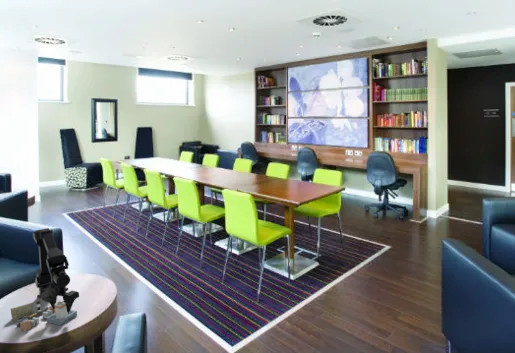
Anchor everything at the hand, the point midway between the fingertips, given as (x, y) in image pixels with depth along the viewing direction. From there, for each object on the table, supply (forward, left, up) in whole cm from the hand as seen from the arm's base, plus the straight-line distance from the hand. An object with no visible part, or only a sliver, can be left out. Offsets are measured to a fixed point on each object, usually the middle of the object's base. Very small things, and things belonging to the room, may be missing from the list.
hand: (61, 310), depth 175 cm
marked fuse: (0, 0, -4) cm, 4 cm away
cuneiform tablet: (-18, -4, -5) cm, 20 cm away
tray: (0, 0, -4) cm, 4 cm away
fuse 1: (-8, -12, -4) cm, 15 cm away
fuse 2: (-8, +3, -4) cm, 10 cm away
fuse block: (-10, -4, -4) cm, 12 cm away
